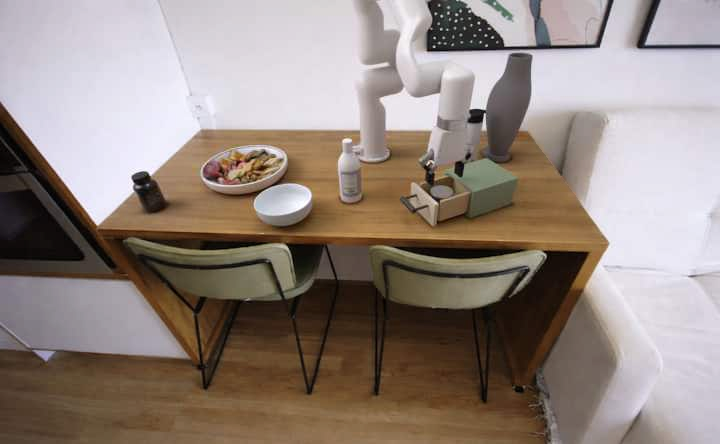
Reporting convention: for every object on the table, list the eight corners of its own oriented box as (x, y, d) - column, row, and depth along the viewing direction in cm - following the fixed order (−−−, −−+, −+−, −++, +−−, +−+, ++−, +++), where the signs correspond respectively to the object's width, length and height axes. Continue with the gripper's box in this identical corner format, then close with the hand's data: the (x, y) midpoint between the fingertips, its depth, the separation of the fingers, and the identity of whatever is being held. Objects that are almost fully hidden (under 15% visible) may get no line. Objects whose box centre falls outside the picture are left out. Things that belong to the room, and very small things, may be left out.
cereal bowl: (311, 197, 112) (308, 179, 108) (318, 228, 99) (315, 209, 95) (258, 206, 109) (253, 188, 105) (259, 239, 97) (253, 220, 92)
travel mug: (476, 169, 122) (487, 114, 109) (457, 168, 123) (465, 113, 110) (475, 160, 126) (485, 107, 114) (457, 159, 128) (464, 106, 115)
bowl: (271, 149, 141) (267, 131, 136) (303, 179, 121) (299, 159, 116) (196, 172, 129) (189, 153, 124) (218, 209, 109) (210, 189, 104)
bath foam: (365, 199, 110) (363, 142, 97) (345, 206, 107) (341, 147, 95) (356, 189, 115) (353, 133, 102) (337, 195, 112) (331, 138, 100)
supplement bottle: (142, 205, 113) (125, 174, 105) (164, 198, 116) (149, 167, 108) (146, 215, 108) (129, 183, 101) (169, 207, 111) (153, 175, 104)
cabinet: (469, 218, 100) (474, 191, 94) (441, 194, 110) (445, 169, 104) (511, 203, 105) (518, 177, 99) (481, 182, 115) (486, 157, 109)
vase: (471, 153, 131) (488, 54, 109) (494, 144, 136) (515, 47, 114) (499, 167, 122) (524, 62, 100) (522, 156, 127) (551, 54, 105)
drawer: (416, 232, 95) (417, 210, 90) (394, 208, 104) (395, 187, 99) (474, 212, 101) (479, 191, 96) (449, 191, 110) (452, 171, 105)
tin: (431, 212, 99) (433, 198, 96) (426, 199, 105) (428, 186, 101) (454, 211, 100) (456, 197, 96) (448, 198, 105) (450, 184, 102)
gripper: (470, 110, 91) (460, 166, 102) (414, 123, 86) (410, 180, 97) (489, 120, 86) (477, 178, 97) (431, 134, 81) (424, 193, 92)
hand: (443, 179), depth 97 cm, fingers open, 9 cm apart
